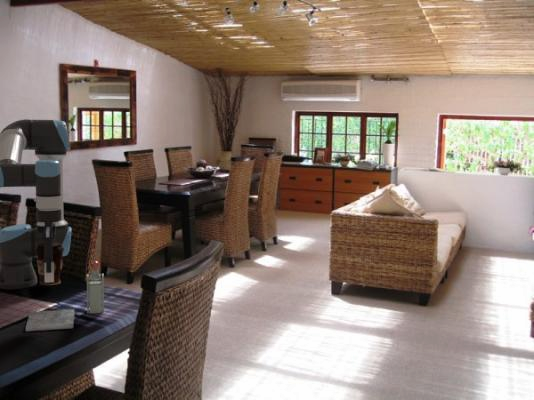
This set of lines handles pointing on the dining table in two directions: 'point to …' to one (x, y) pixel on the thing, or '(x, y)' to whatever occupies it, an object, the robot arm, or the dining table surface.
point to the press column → (95, 296)
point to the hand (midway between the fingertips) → (50, 278)
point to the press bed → (50, 320)
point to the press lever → (95, 271)
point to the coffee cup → (56, 259)
